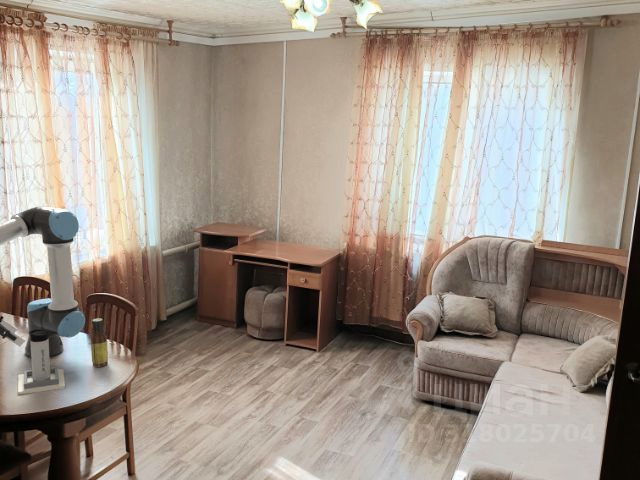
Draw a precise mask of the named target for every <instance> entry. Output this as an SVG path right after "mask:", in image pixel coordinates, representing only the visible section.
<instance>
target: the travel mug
mask: <svg viewBox="0 0 640 480" xmlns="http://www.w3.org/2000/svg"><path fill="white" fill-rule="evenodd" d="M29 333H30V341H31V342H30V343H31V357H30V358H31V370H32V377H33V382H34V381H42V380H49V379H50V368H51V364H50V357H49V341H48V332H47V331H45V330H31V331H30V332H29V331H28V334H29Z"/></svg>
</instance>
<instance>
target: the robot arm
mask: <svg viewBox="0 0 640 480" xmlns="http://www.w3.org/2000/svg"><path fill="white" fill-rule="evenodd" d="M79 227H80V225H79V220H78V218H77V216H76V215H75V214H74V213H73V212H72V211H70V210H66V209H63V208H57V207H49V206H44V205H41V206H39V205H38V206H35V207H32V208H28V209H26V210H23V211H21V212H19V213H16V214H14V215H12V216H11V217H10V219H9V220H6V221H5V222H2V223H0V247H1V246H4V245H5V244H7V243H9V242H12V241H13V240H16V239H18V238H20V237H21V238H26V237H28V236H31V235H41V239H42V244H44V246H46V249H47V261H48V262H47V263H48V272H49V274H48V275H49V276H48V277H49V287H50V296H51V298H49V297H48V298H41V299H36V300H33V301H30V302H28V304H27V307H26V308H27V309H26V313H27V327H28V330H27V331H28V337H27V340H25V339H24V338H22V337H20V336H19V335H17V334H16V332H17V331H18V328H17V327H16V326H14V325H12V324H11V323H9V322H8V321H6V320H5V319H4V317H5V316H3V315H1V316H0V336H1V337H2V339H3V340H4V339H6V340H8V341H11V343H13V344H15V345H16V346H18V347H19V348H21V346H22V345H23V344H24V343H25V342H26V345H25V347H24V353H25V356H27V357H30V358H31V343H30V342H31V341H30V333H29V332H30V331H31V330H45V331H47V332H48V341H49V358H50V357H54V356H56V355H59V354H61V353H62V352H63V351H64V344H63V343H64V342H63V340H62V337H63V338H73V337H75V336H77V335H78V334H79V333H81V331H82V329H84V327H85V323H86V317H85V316H86V315H84V313H83V312H82V311H80V310H79V303H78V301H77V300H75V297H74V296H75V295H74V285H73V284H74V281H73V270H72V256H71V255H72V254H71V245H72V243H73V242H74V238H75V237H76V236H77V233H78V232H79Z"/></svg>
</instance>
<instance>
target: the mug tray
mask: <svg viewBox="0 0 640 480" xmlns="http://www.w3.org/2000/svg"><path fill="white" fill-rule="evenodd" d="M17 381H18V382H17V383H18V384H17V385H18V387H17V395H19V396H20V395H25V394H33V393H38V392H39V393H40V392H45V391H47V392H48V391H54V390H60V389H61V390H62V389H66V384H65V383H66V382H65V374H64V369H63V368H61V369H60V368H59V367H58V366H56V367H50V379H49V380H42V381H34V382H33V377H32V369H31V370H24V371H23V373H21V374H18V380H17Z"/></svg>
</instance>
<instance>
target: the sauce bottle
mask: <svg viewBox="0 0 640 480" xmlns="http://www.w3.org/2000/svg"><path fill="white" fill-rule="evenodd" d="M103 322H104V321H103V319H102V318H99V317H97V318H93V319H91V323H92V333H91V335H90V349H91V350H90V352H91V363H92V366H93V367H95V368H103V367H105V366H106V367H107V365H108V363H109V356H108V340H107V335H106V333H105V331H104V329H103Z"/></svg>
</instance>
